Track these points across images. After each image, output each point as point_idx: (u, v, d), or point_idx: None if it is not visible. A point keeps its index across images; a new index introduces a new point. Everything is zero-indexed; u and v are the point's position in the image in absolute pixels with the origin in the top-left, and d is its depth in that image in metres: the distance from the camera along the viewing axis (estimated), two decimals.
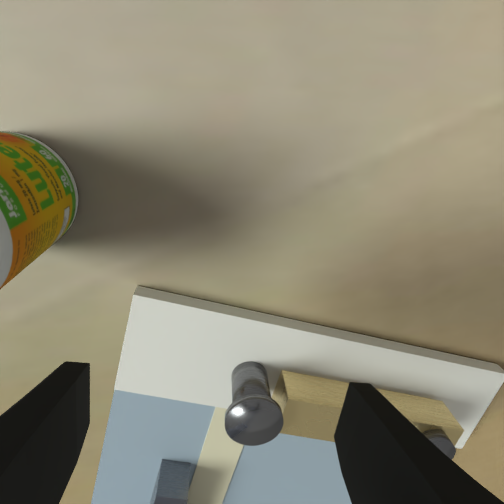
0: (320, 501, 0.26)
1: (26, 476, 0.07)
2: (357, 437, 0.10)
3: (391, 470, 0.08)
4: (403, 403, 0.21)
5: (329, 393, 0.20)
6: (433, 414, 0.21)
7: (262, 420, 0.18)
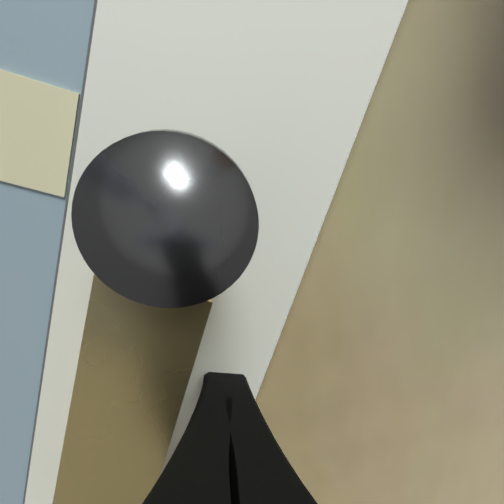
0: None
1: None
2: None
3: None
4: None
5: None
6: None
7: (179, 251, 0.06)
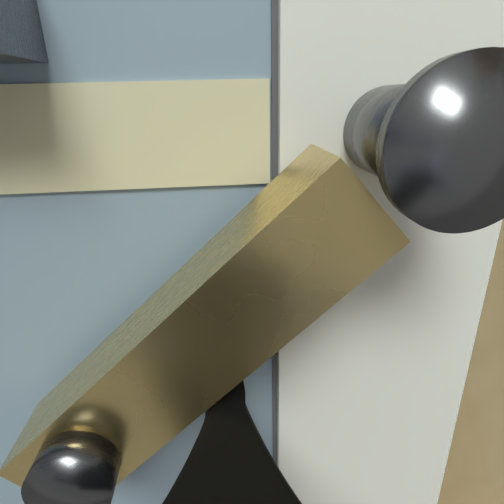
0: None
1: None
2: None
3: None
4: None
5: None
6: None
7: (485, 168, 0.06)
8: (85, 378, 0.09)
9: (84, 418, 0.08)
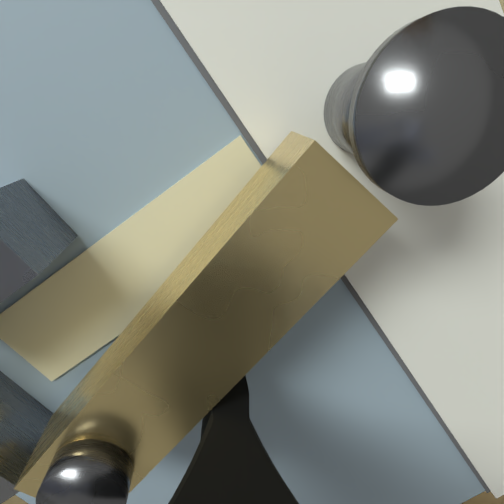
0: None
1: None
2: (204, 429, 0.09)
3: None
4: None
5: None
6: None
7: (472, 122, 0.06)
8: (90, 387, 0.09)
9: (91, 426, 0.08)
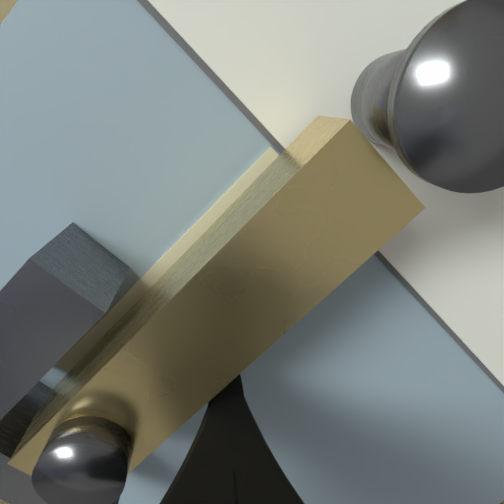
0: (309, 470, 0.14)
1: None
2: None
3: None
4: None
5: None
6: None
7: None
8: (94, 363, 0.09)
9: (94, 402, 0.08)
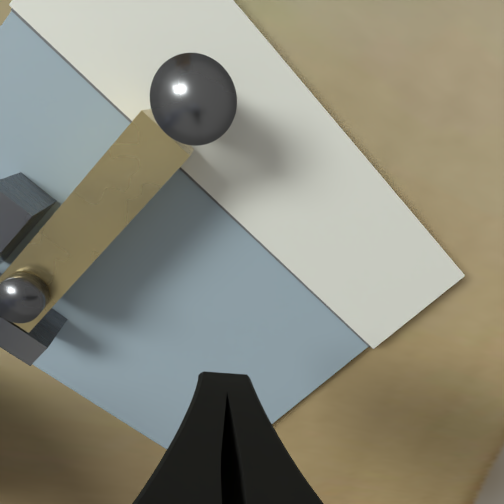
0: (188, 346, 0.20)
1: None
2: None
3: (232, 463, 0.08)
4: None
5: None
6: None
7: (206, 102, 0.12)
8: None
9: (25, 264, 0.15)
